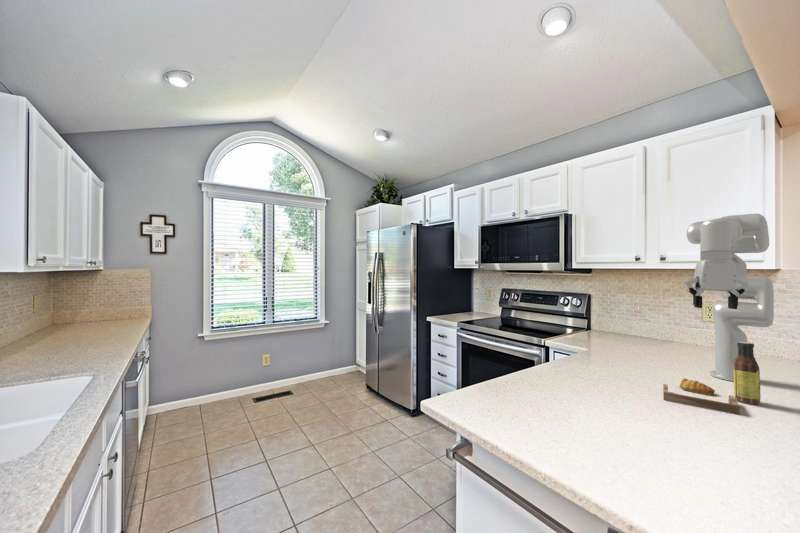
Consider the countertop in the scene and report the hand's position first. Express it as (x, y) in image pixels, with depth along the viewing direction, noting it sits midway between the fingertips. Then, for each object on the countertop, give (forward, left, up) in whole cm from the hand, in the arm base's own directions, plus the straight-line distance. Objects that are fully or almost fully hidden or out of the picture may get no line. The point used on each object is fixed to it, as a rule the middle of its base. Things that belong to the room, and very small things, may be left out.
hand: (715, 308), depth 113 cm
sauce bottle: (-9, +9, -32) cm, 34 cm away
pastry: (-11, -4, -32) cm, 34 cm away
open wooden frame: (+3, -4, -32) cm, 32 cm away
